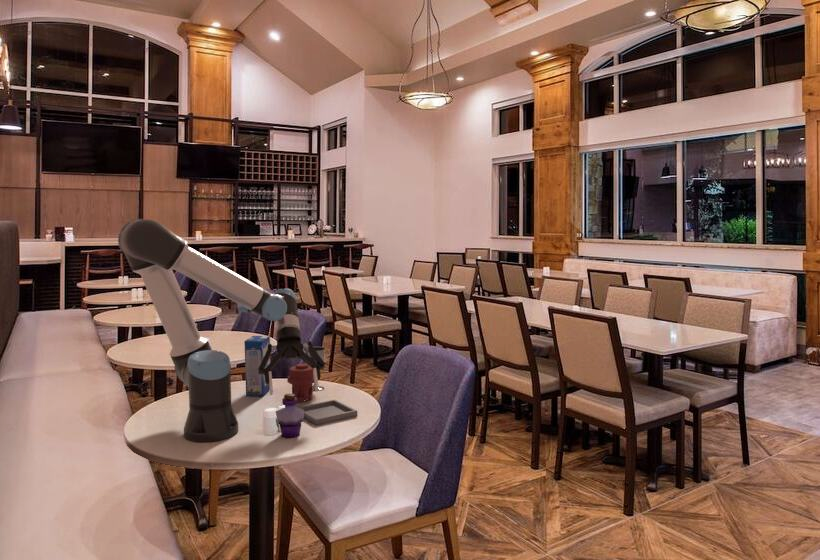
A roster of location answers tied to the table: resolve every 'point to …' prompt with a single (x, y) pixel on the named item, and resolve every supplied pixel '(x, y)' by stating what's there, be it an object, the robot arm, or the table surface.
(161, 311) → the robot arm
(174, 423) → the table surface
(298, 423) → the potion bottle
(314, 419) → the charcoal tray
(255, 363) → the milk carton
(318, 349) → the wine glass
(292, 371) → the mechanical component
